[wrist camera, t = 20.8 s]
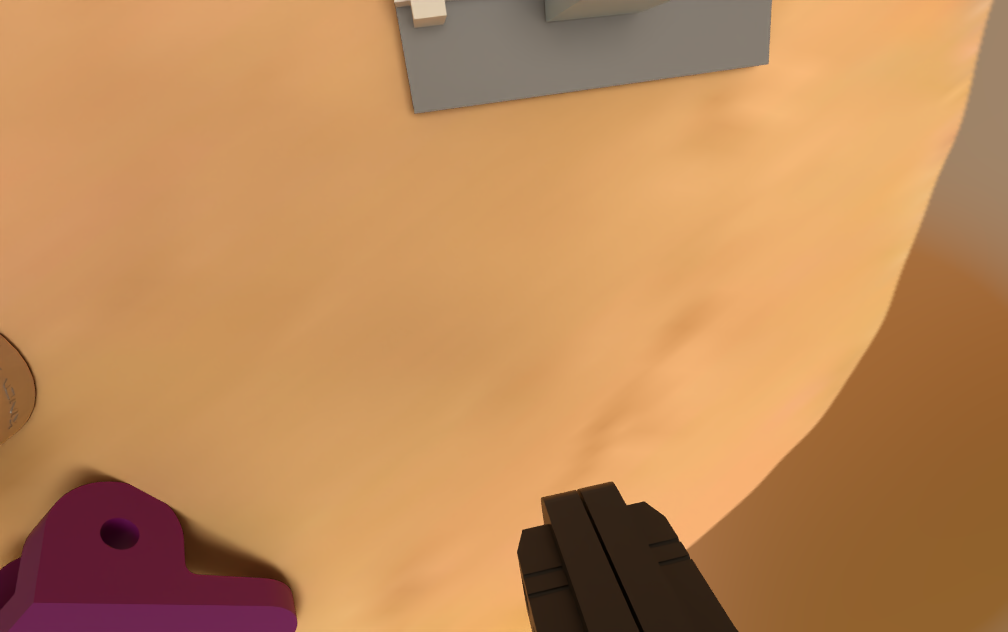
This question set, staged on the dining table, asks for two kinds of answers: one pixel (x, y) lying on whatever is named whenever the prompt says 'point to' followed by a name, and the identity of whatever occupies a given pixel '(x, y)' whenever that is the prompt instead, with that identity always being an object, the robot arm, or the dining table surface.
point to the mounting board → (568, 47)
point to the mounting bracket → (127, 574)
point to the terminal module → (595, 8)
